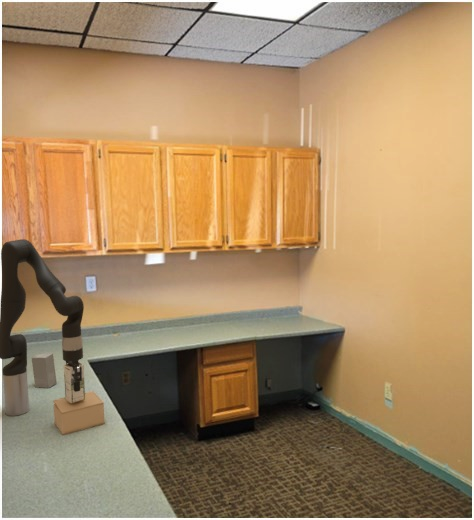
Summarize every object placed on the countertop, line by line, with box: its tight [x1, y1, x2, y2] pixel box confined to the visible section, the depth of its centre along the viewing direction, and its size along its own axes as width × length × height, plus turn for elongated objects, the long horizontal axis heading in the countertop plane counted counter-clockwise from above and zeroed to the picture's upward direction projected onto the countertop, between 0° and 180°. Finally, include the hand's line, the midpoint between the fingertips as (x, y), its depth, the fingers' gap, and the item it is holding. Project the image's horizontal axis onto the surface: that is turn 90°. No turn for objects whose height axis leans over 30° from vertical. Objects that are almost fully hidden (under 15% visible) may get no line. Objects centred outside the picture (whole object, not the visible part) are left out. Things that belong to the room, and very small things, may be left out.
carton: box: [53, 403, 106, 435], centre depth 183 cm, size 13×16×8 cm
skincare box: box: [31, 353, 57, 389], centre depth 228 cm, size 8×7×16 cm
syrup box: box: [63, 362, 86, 403], centre depth 182 cm, size 6×6×14 cm
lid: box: [52, 390, 105, 414], centre depth 183 cm, size 13×16×1 cm
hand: (74, 388), depth 182 cm, fingers closed on syrup box, 6 cm apart
